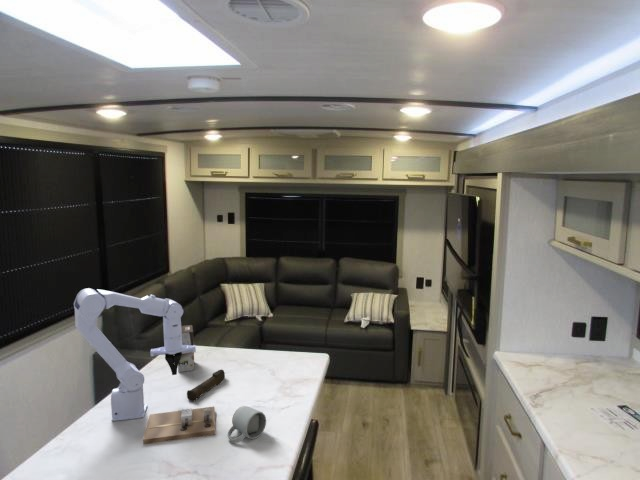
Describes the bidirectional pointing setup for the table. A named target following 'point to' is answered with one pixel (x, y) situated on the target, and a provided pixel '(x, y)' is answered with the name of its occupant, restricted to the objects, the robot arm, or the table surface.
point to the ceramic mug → (247, 423)
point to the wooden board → (179, 426)
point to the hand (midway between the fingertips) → (174, 373)
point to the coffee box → (188, 357)
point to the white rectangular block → (186, 417)
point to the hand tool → (206, 385)
